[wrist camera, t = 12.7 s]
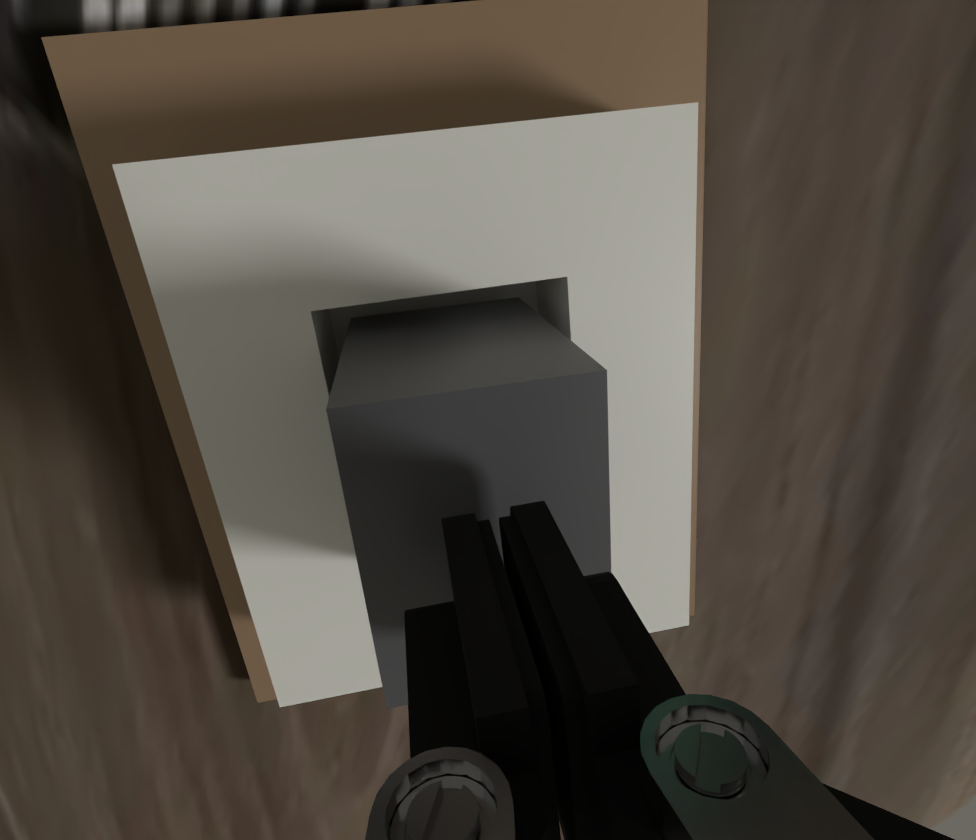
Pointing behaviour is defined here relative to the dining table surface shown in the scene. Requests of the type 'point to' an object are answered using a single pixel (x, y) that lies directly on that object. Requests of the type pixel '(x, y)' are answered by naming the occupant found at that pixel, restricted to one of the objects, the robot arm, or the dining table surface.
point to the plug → (461, 448)
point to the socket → (397, 261)
